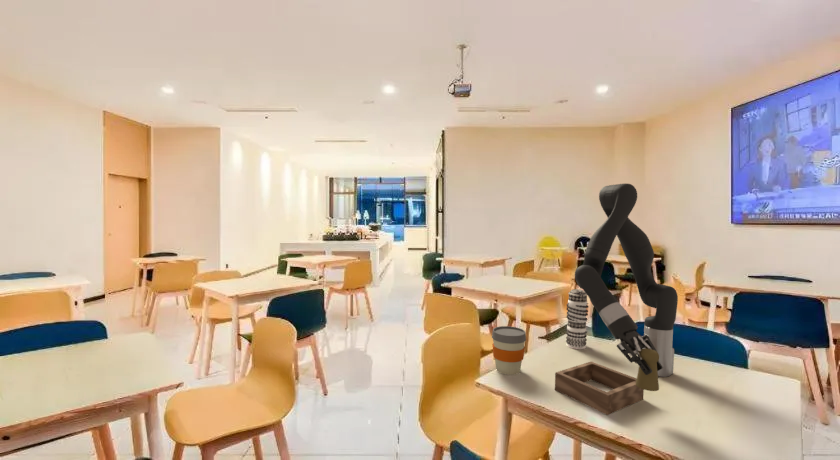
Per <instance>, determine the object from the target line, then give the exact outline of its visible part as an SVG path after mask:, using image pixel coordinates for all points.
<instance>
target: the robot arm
mask: <svg viewBox="0 0 840 460" xmlns="http://www.w3.org/2000/svg"><path fill="white" fill-rule="evenodd" d="M637 199H638V191H637V189H636V187H635V185H633V184H631V183H617V184H611V185H610V184H608V185H605V186H603V187H602V188H601V189H600V190H599V194H598V200H599V204H600V206H601V208H602V210H603V212H604V214H605V216H606V217H607V219H606V220H605V221H604V222H603V223H602V224H601V225H600V226H599V227H598V228H597V229H596V230H595V232H594V233H593V234H592V236H591V238H590V239H589V242H588V244H587V247H586V249H585V252H584V256H583V257H584V258H583V259H584V260H583V263H582V265H580V266H578V267H577V268H576V269H575V272H574V279H575V281H576V283H577V285H578V287H579V288H580V290H584V291H585V293H586V294H587V298H589V301H590V302H591V304H592V307H593V308H594V309H595V310H596V312H597V313H598V315H599V316H600V318H601V320H602V322H603V323H604V325H605V326H606V327H607V330H609V332H610V333H611V334H612V336H613V337H614V339H616V340H619V341H620V342H619V343H618V344H616V347H617V350H618V351H620V353H622V355H624V357H625V358H626V359H627V361H628V362H629V363H634V364H637V366H638V368H639V367H640V368H641V370H642V371H643V372H644V373H645V375H648V374H650V373H652V370H651V368H650V367H649V365H648V364H647V363H646V361H645V360H643V357H642V355H641V349H645V348H646V349H652V350H655V351H657V352H658V354H659V360H658V362H657V372H658V377H664V378H665V377H666V378H667V377H670V376H671V375H673V374H674V364H675V363H674V361H675V348H674V347H673V335H674V324H675V322H676V320H677V318H676V317H677V311H678V301H679V299H678V293H677V290H676V289H675V288H674V287H673V286H670V285H666V284H660V283H658V282H656V280H655V278H654V276H653V273H652V265H653V263H654V258H655V252H654V249H653V246H652V244H651V240H650V239H649V237H648V236H647V235H648V234H646V233H645V232H644V231H643V229H641V228H640V226H638V225H637V224H636V223H635V222H634V221H632V220H631V219H630V218H629V216H630V214H631V212H632V211H633V209H634V208H635V206H636V204H637V203H636V202H637ZM616 238H618V240H619V244H620V246H621V249H622V251H623V254H624V255H625V257H626V260H627V262H628V264H629V265H628V266H629V267H630V269H631V273H632V275H633V278H634V280H635V283H636V287H637V291H638V294H639V297H640V299H641V302H642V303H643V304H644V305H646V306H647V307H650V308H654V309H656V310H655V314H654V315H651V316H647V317H645V318H644V328H643V332H644V333H643V335H641V334H640V333H639V332H638V331H637V330H638V328H639V327H638V325H637V323H636V322H635V320H633V318H632V317H631V315H630V314H629V313H628V311H627V310H626V309H625V308H624V306H623V305H622V304H620V302H619V301H618V299H617V298H616V297H615V296H614V294H613V293H612V292H611V290H610V289H608V287H607V285H606V283H605V282H604V280H603V279H602V274H603V270H604V266H605V263H606V261H607V258H608V256H609V253H610V251H611V249H612V246H613V244H614V242H615V239H616Z"/></svg>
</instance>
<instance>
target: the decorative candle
mask: <svg viewBox="0 0 840 460" xmlns="http://www.w3.org/2000/svg"><path fill="white" fill-rule="evenodd" d="M567 294H568V300H567V303H566V310H567V311H566V320H567V325H566V330H565V331H566V337H565V339H566V340H565V342H566V344H565V345H566V346H567V347H568V348H571V349H575V350H584V349H586V348H587V337H588V335H587V334H588V331H587V322H588V317H587V316H589V314H588V312H589V310H588V308H589V307H590V305H589V303H588V295H587V294H586V293H585V291H584V290H583V289H577V288H575V289H570V291H569V292H568V293H567Z"/></svg>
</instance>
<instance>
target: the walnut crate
mask: <svg viewBox="0 0 840 460" xmlns="http://www.w3.org/2000/svg"><path fill="white" fill-rule="evenodd" d="M554 375H555V376H554V377H555V378H554V390H555V391H556V392H559V393H561V394H562V395H565V396H567V397H569V398H570V399H573V400H575V401H577V402H579V403H582V404H583V405H585V406H587V407H589V408H592V409H593V410H596V411H598V412H599V413H602V414H604V415H606V416H608V415H612V414H614V413H615V412H618V411H621V410H623V409H625V408H627V407H629V406H632V405H634V404H636V403H639V402H640V401H641V402H642V401H643V400H644V393H645V392H644V391H645V390H644V389H641V388H639V387H637V386H636V379H637V377H633V376H631V375H629V374H626V373H623V372H620V371H618V370H616V369H613V368H609V367H607V366H604V365H602V364H599V363H596V362H594V361H588V362H585V363H581V364H579V365H578V364H577V365H576V366H572V367H569V368H565V369H562V370H559V371H555V373H554ZM590 381H593V382H595V383H597V384H599V385H602V386H604V387H607V388H609V389H611V390H609V391H608V390H607V391H605V390H603V389H601V388H598V387H596V386H594V385H591V384H589V383H588V382H590Z"/></svg>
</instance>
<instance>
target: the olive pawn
mask: <svg viewBox="0 0 840 460" xmlns="http://www.w3.org/2000/svg"><path fill="white" fill-rule="evenodd" d="M641 355H642V357H643V360H645V361H646V363H647V364H648V365H649V367H650V368H651V370H652V373H650V374H648V375H645V373H644V372H643V371H642V370H641V368H640V367H639V366H638V371H637V376H636V378H637V379H636V386H637V387H639V388H641V389H644V391H649V392H657V391H659V390H660V385H659V376H658V372H657V362H658V360H659V354H658V352H657V351H655V350H652V349H646V348H645V349H641Z"/></svg>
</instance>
